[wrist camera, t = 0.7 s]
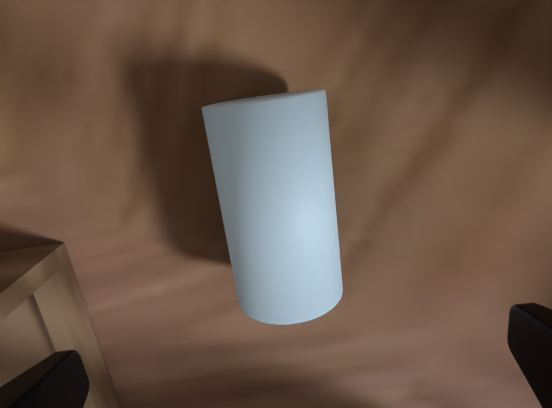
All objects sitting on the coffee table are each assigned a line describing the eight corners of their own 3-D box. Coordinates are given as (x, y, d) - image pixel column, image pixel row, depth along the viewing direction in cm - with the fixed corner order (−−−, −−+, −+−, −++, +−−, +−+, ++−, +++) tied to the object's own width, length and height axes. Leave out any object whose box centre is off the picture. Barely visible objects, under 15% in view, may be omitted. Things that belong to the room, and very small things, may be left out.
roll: (334, 260, 21) (351, 317, 16) (242, 271, 21) (233, 330, 16) (318, 87, 18) (334, 93, 13) (211, 102, 18) (189, 113, 13)
